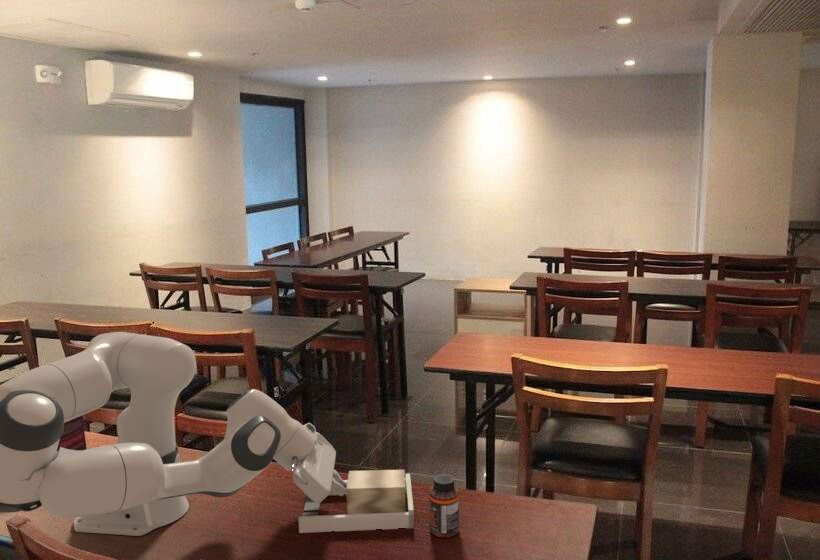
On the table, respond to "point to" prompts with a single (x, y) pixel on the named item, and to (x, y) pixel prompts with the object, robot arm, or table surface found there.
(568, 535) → the table surface
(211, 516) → the table surface
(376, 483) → the birch block
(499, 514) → the table surface
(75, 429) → the supplement box
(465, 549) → the table surface
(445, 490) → the supplement bottle
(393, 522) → the box
